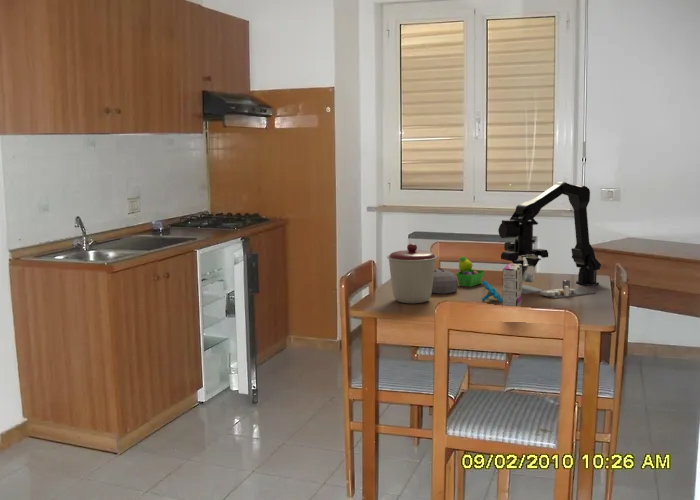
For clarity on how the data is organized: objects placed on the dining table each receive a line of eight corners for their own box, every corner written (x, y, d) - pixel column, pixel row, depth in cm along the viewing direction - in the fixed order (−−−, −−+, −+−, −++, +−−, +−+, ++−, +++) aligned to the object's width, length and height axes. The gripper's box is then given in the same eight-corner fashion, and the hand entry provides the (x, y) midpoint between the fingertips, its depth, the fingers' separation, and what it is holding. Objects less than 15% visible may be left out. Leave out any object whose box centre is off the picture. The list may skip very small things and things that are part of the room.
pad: (523, 285, 290) (523, 284, 290) (545, 291, 278) (545, 290, 278) (503, 288, 286) (503, 286, 286) (524, 294, 274) (524, 292, 274)
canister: (397, 307, 254) (397, 248, 251) (380, 297, 271) (380, 241, 268) (445, 304, 259) (445, 245, 256) (425, 294, 276) (425, 239, 273)
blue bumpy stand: (501, 300, 255) (482, 279, 258) (489, 311, 257) (470, 290, 259) (506, 298, 266) (488, 278, 268) (494, 309, 267) (476, 289, 270)
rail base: (578, 289, 281) (578, 279, 280) (595, 293, 273) (596, 283, 272) (538, 294, 273) (539, 283, 272) (555, 298, 265) (555, 287, 264)
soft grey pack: (413, 286, 293) (426, 296, 274) (413, 266, 292) (426, 274, 272) (449, 284, 296) (465, 294, 276) (449, 264, 294) (465, 272, 275)
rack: (567, 290, 275) (567, 279, 275) (577, 293, 271) (577, 281, 270) (539, 294, 270) (540, 282, 269) (549, 296, 265) (549, 284, 265)
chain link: (520, 277, 286) (520, 262, 286) (536, 281, 278) (536, 266, 277) (512, 278, 285) (512, 263, 284) (528, 282, 276) (528, 266, 275)
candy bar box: (507, 310, 247) (507, 263, 244) (522, 311, 245) (523, 263, 243) (501, 318, 236) (502, 268, 234) (516, 319, 235) (517, 269, 232)
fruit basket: (472, 287, 288) (472, 259, 286) (452, 285, 293) (452, 257, 291) (485, 283, 297) (485, 256, 295) (465, 281, 302) (466, 254, 300)
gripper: (531, 233, 290) (530, 271, 292) (492, 236, 282) (492, 275, 285) (549, 235, 280) (548, 275, 282) (510, 239, 272) (509, 280, 275)
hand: (524, 276), depth 281 cm, fingers closed on chain link, 4 cm apart
